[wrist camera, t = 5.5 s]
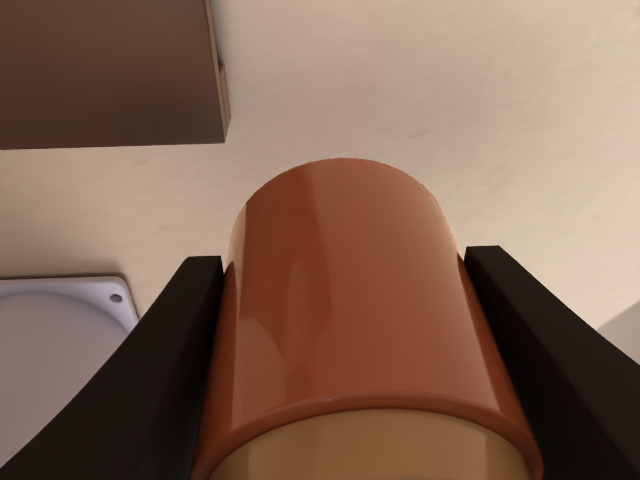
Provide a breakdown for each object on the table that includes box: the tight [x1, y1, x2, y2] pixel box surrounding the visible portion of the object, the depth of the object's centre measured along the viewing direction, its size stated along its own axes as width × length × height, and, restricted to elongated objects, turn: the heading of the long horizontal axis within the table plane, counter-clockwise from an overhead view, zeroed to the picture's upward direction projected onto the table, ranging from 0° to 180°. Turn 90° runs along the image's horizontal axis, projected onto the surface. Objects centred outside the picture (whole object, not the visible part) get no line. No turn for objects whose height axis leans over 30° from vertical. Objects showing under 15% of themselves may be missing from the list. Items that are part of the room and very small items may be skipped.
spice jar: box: [188, 158, 544, 480], centre depth 8 cm, size 5×5×6 cm
